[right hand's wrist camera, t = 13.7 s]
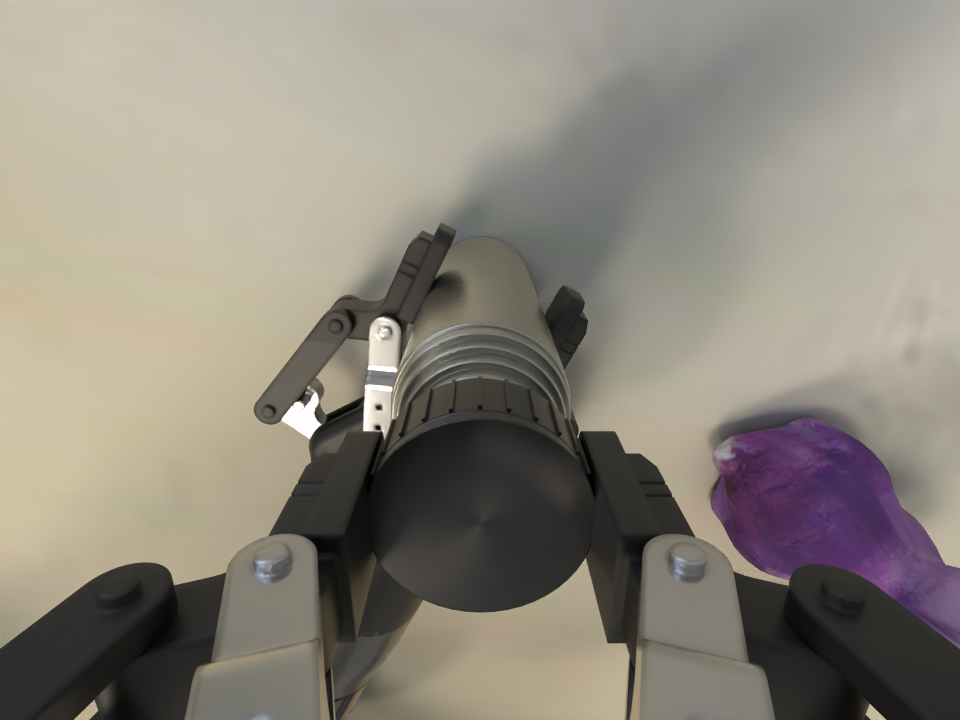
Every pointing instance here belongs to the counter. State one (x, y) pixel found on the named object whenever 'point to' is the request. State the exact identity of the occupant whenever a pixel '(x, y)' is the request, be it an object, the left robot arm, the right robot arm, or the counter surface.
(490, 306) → the bottle
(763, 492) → the figurine
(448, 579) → the cap
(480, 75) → the counter surface
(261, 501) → the counter surface
